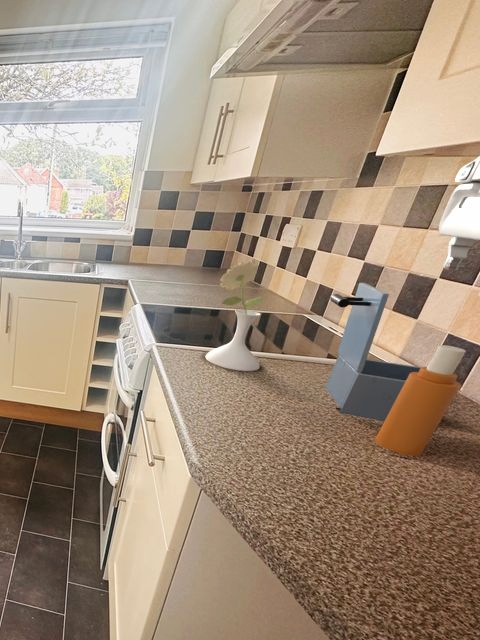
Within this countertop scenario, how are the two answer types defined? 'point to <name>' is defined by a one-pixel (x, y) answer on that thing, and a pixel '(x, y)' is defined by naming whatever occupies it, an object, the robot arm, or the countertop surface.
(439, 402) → the bottle
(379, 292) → the lid
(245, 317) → the flower in vase
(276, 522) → the countertop surface
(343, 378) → the box
